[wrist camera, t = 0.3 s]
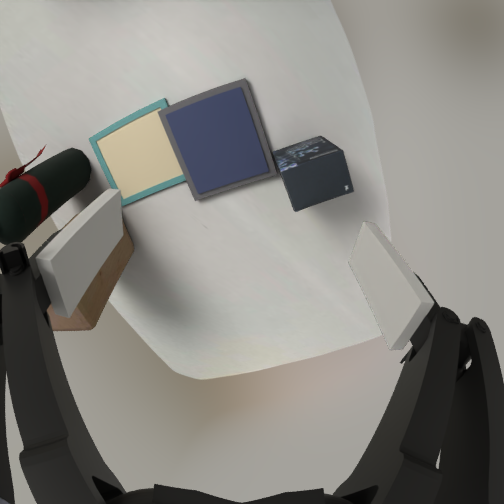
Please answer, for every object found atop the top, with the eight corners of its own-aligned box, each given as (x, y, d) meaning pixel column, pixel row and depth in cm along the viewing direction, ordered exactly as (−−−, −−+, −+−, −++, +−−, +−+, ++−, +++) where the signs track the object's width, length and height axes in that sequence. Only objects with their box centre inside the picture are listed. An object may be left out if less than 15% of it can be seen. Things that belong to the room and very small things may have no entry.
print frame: (90, 138, 35) (88, 138, 35) (164, 98, 33) (164, 98, 33) (122, 205, 42) (121, 206, 42) (196, 175, 40) (195, 176, 39)
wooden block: (137, 249, 47) (95, 333, 30) (96, 257, 48) (49, 333, 31) (117, 199, 41) (54, 272, 25) (75, 213, 42) (12, 281, 25)
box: (320, 134, 37) (344, 149, 28) (331, 168, 40) (355, 193, 31) (270, 151, 38) (279, 171, 29) (283, 184, 41) (295, 214, 32)
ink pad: (159, 111, 34) (156, 111, 33) (245, 78, 32) (245, 78, 31) (196, 198, 42) (194, 201, 41) (276, 172, 40) (277, 175, 39)
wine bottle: (73, 128, 34) (-76, 210, 9) (98, 178, 39) (-25, 301, 14) (45, 151, 35) (-83, 241, 10) (69, 197, 40) (-39, 314, 15)
